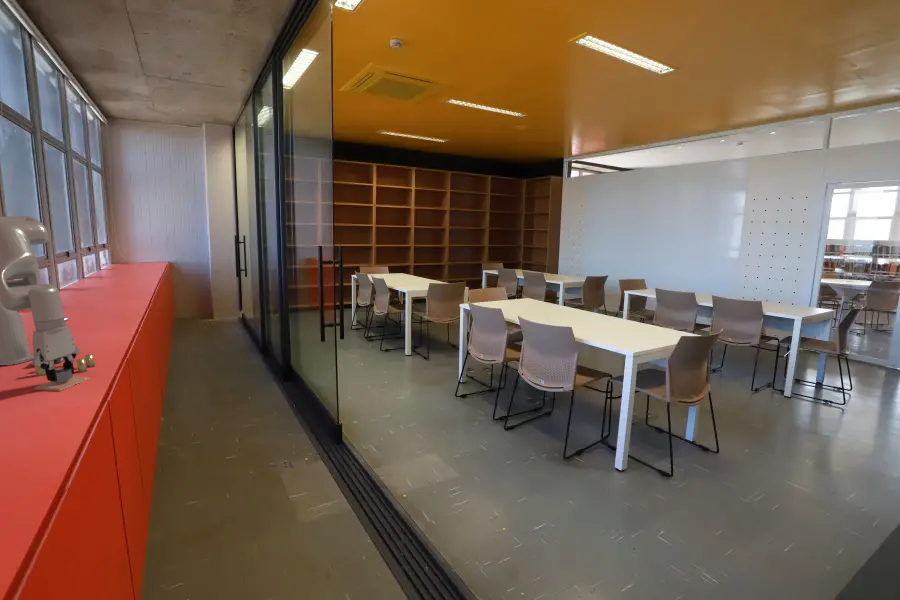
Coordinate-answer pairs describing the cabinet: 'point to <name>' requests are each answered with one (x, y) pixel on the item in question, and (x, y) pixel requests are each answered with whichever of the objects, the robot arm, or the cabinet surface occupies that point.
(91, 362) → the brass standoffs
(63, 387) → the tan tile
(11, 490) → the cabinet surface
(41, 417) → the cabinet surface
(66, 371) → the steel nut
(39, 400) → the cabinet surface
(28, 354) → the robot arm
